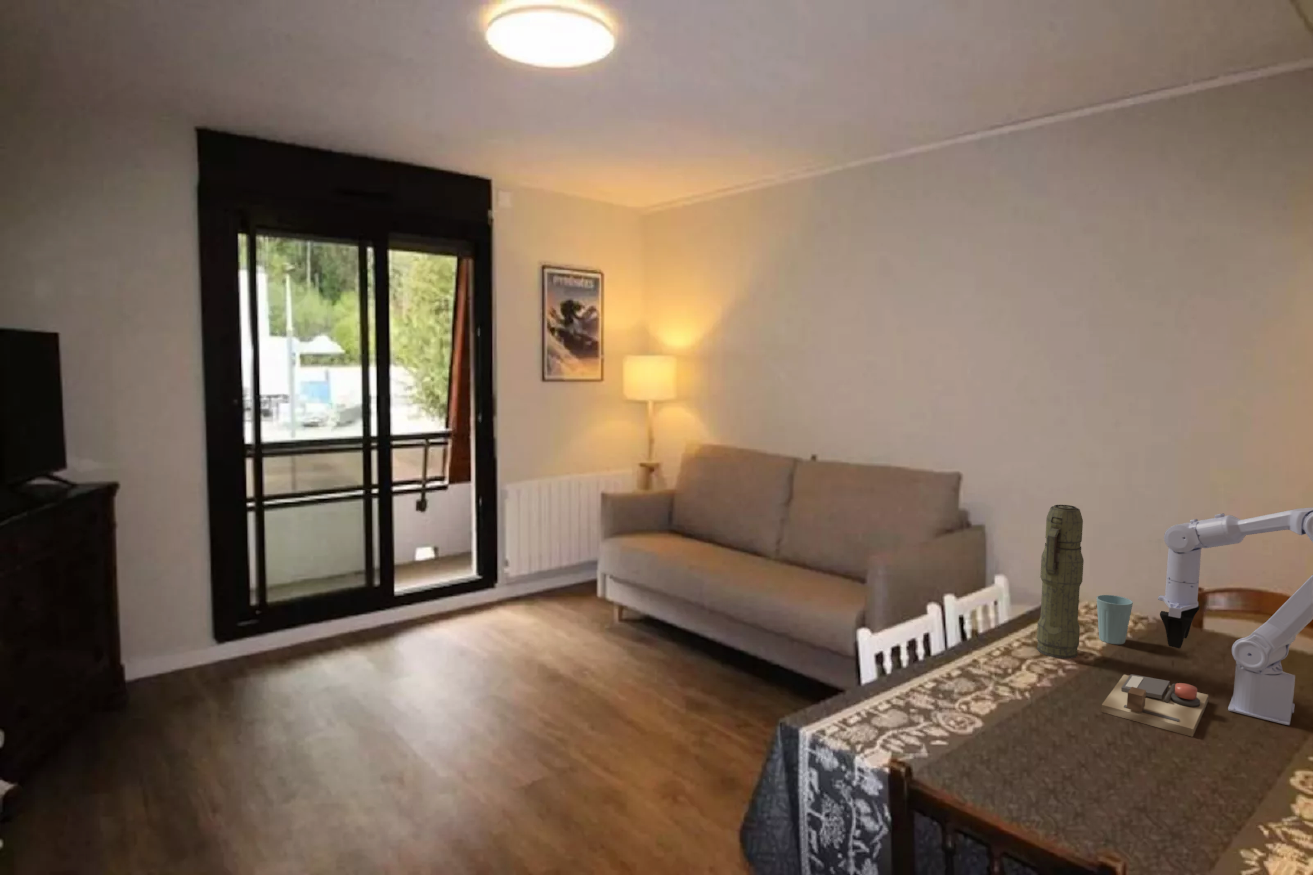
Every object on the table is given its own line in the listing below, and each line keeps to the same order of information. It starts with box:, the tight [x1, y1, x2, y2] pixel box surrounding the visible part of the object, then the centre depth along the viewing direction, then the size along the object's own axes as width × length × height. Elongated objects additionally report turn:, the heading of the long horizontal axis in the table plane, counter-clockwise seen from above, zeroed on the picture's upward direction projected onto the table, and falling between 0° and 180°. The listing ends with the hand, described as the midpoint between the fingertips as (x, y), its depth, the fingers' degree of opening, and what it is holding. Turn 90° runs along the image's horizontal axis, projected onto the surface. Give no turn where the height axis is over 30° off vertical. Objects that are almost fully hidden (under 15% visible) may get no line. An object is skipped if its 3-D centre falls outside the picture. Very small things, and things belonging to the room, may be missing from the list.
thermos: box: [1036, 504, 1085, 660], centre depth 182 cm, size 9×12×35 cm
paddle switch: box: [1121, 674, 1171, 699], centre depth 160 cm, size 7×9×1 cm
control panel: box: [1100, 674, 1209, 738], centre depth 155 cm, size 15×20×2 cm
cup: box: [1096, 594, 1134, 645], centre depth 190 cm, size 8×8×10 cm
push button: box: [1174, 682, 1198, 700], centre depth 154 cm, size 4×4×2 cm
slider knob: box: [1127, 687, 1146, 712], centre depth 150 cm, size 2×4×3 cm, turn 138°
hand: (1177, 641), depth 165 cm, fingers open, 7 cm apart
